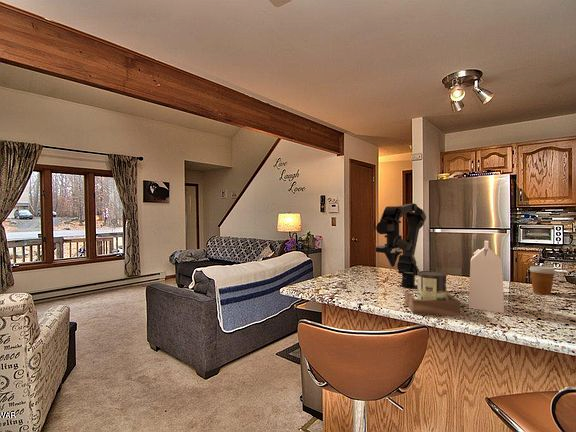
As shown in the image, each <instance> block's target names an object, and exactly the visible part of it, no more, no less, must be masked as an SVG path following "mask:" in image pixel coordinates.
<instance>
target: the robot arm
mask: <svg viewBox="0 0 576 432" xmlns="http://www.w3.org/2000/svg"><path fill="white" fill-rule="evenodd" d="M404 215H405V218H406V219H407V220H406V222H407V224H408V227H409V228H408V233H407V238H406V239H403V236H402V235H400V224H401V223H402V221H401V220H400V219H401V218H402V217H403V216H404ZM426 219H427V215H426V213H425V211H424V210H423V209H422V208H420V207H419V206H418V205H417V204H416V203H414V202H413V203H409V202H408V203H406V204H402V205H397V206H394V205H393V206H390V205H389V206H385V208H384V210H383V212H382V214H381V218H380V219H379V222H378V223H377V224H376V226H375V230H376V232H377V233H378V234H379V235H384V238H386V243H384V245H377V246H376V247H375V253H381V254H384V255H385V256H386V259H387V260H388V262H389V265H390V266H391V267H392V268H394V267H395V266H397V270H398V271H397V273H398V275H400V274H401V284H399V285H398V286H400V287H404V288H407V289H414V288H418V284H416V276H417V277H418V274H417V272H419V271H420V269H419V267H418V265H417V260H416V258H415V253H416V247H417V243H418V239H419V234H420V233H419V232H420V229H421V228H422V227H423V226H424V224H425V221H426ZM403 251H404V252H403ZM396 262H397V264H396Z"/></svg>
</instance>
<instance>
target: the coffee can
mask: <svg viewBox="0 0 576 432" xmlns="http://www.w3.org/2000/svg"><path fill="white" fill-rule="evenodd" d="M417 274H418V276H417V285H418V286H417V299H419V300H446V292H447V277H448V276H447V273H446V272H441V271H437V270H419V272H417Z"/></svg>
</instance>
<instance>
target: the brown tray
mask: <svg viewBox="0 0 576 432" xmlns="http://www.w3.org/2000/svg"><path fill="white" fill-rule="evenodd" d="M404 304H405V305H406V307H407V308H408V309H409V310H410V312H411V313H412V314H413V315H434V316H435V315H436V316H455V317H456V316H457V317H458V316H459V317H460V316H461V301H460V300H458V299H457V298H456V297H455V296H453V295H452V294H451V293H448V292H447V291H446V300H419V299H418V298H417V299H416V298H415V297H414V296H413V295H412V294H411V293H410V292H409V291H408V290H404Z"/></svg>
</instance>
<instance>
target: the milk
mask: <svg viewBox="0 0 576 432" xmlns="http://www.w3.org/2000/svg"><path fill="white" fill-rule="evenodd" d="M483 245H484V246H483V248H481V249H479V248H477V250H475V251H474V252H473V255H472V257H471V258H470V267H469V270H470V271H469V292H468V309H471V308H473V310H478V309H479V311H486V312H491V313H492V312H494V313H501V314H505V307H504V306H505V302H504V301H505V300H504V299H505V298H504V277H503V275H504V274H503V260H502V258H501V257H500V256H499V255H498V254H496V253H495V252H494V251H493V250H492V249H491V248H490V247H489V240H484V244H483Z"/></svg>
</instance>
